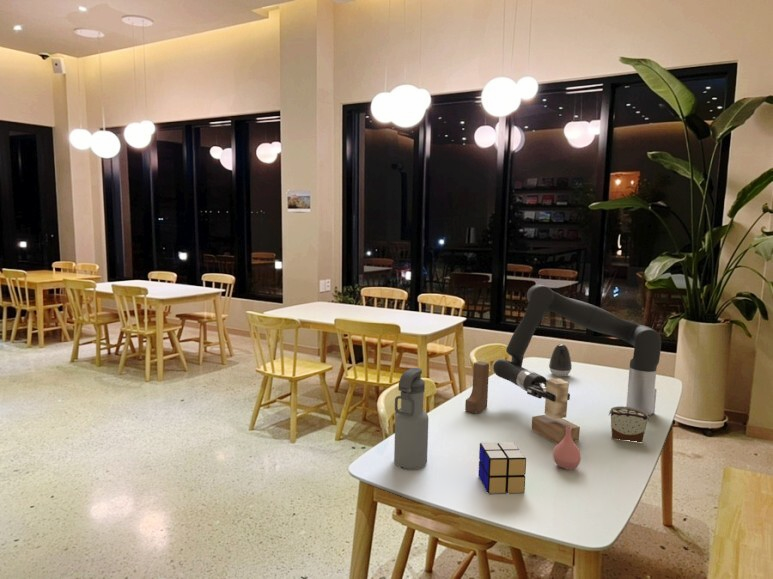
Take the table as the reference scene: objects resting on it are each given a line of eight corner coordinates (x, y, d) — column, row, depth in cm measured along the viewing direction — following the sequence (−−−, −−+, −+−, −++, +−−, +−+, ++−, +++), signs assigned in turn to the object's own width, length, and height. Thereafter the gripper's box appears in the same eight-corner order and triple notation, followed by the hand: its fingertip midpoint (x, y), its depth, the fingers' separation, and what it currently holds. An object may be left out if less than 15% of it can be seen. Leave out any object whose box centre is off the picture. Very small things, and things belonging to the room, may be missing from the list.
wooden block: (474, 414, 191) (476, 367, 189) (464, 411, 194) (466, 365, 192) (487, 408, 198) (489, 363, 196) (477, 405, 201) (479, 360, 199)
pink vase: (558, 459, 156) (560, 421, 154) (583, 466, 151) (586, 427, 149) (548, 468, 150) (550, 428, 148) (574, 476, 145) (577, 436, 143)
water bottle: (416, 474, 144) (419, 378, 141) (387, 465, 149) (389, 372, 146) (432, 460, 153) (435, 369, 149) (404, 452, 158) (406, 364, 154)
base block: (551, 426, 181) (552, 413, 181) (578, 441, 170) (579, 426, 169) (531, 430, 178) (532, 416, 177) (557, 445, 166) (558, 430, 165)
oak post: (556, 412, 176) (559, 378, 175) (566, 417, 172) (568, 382, 170) (544, 413, 175) (546, 379, 173) (553, 418, 170) (556, 384, 168)
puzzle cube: (477, 476, 144) (479, 442, 143) (512, 475, 145) (514, 441, 144) (487, 494, 134) (489, 458, 133) (524, 493, 135) (526, 457, 134)
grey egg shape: (550, 377, 241) (552, 346, 239) (547, 371, 251) (549, 341, 249) (572, 379, 239) (575, 347, 237) (568, 372, 249) (570, 342, 247)
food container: (644, 437, 173) (647, 408, 172) (647, 444, 168) (650, 415, 166) (605, 431, 177) (607, 403, 176) (606, 438, 172) (609, 409, 170)
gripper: (515, 373, 183) (544, 388, 167) (548, 371, 187) (580, 385, 171) (514, 394, 184) (543, 410, 168) (547, 390, 188) (578, 406, 172)
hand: (561, 397), depth 170 cm, fingers closed on oak post, 5 cm apart
